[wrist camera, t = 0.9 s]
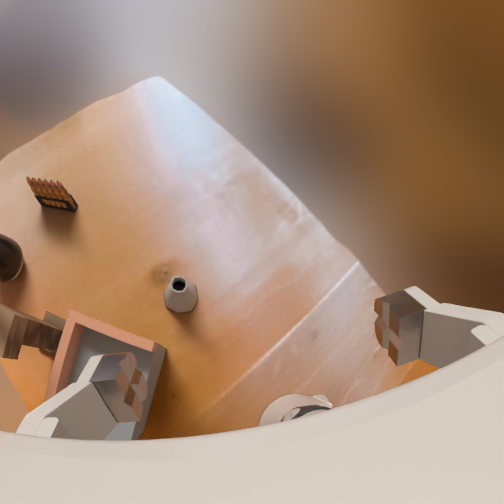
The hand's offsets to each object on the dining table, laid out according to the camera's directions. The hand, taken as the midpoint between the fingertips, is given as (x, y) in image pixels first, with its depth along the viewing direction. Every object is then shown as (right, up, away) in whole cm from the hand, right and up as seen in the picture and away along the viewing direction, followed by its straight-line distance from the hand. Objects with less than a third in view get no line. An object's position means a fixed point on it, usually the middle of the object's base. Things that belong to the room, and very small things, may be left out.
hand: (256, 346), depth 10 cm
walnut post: (-39, -16, +45) cm, 62 cm away
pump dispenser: (-56, 0, +48) cm, 74 cm away
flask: (-15, -6, +54) cm, 56 cm away
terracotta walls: (-23, -17, +30) cm, 41 cm away
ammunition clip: (-47, +14, +55) cm, 74 cm away
